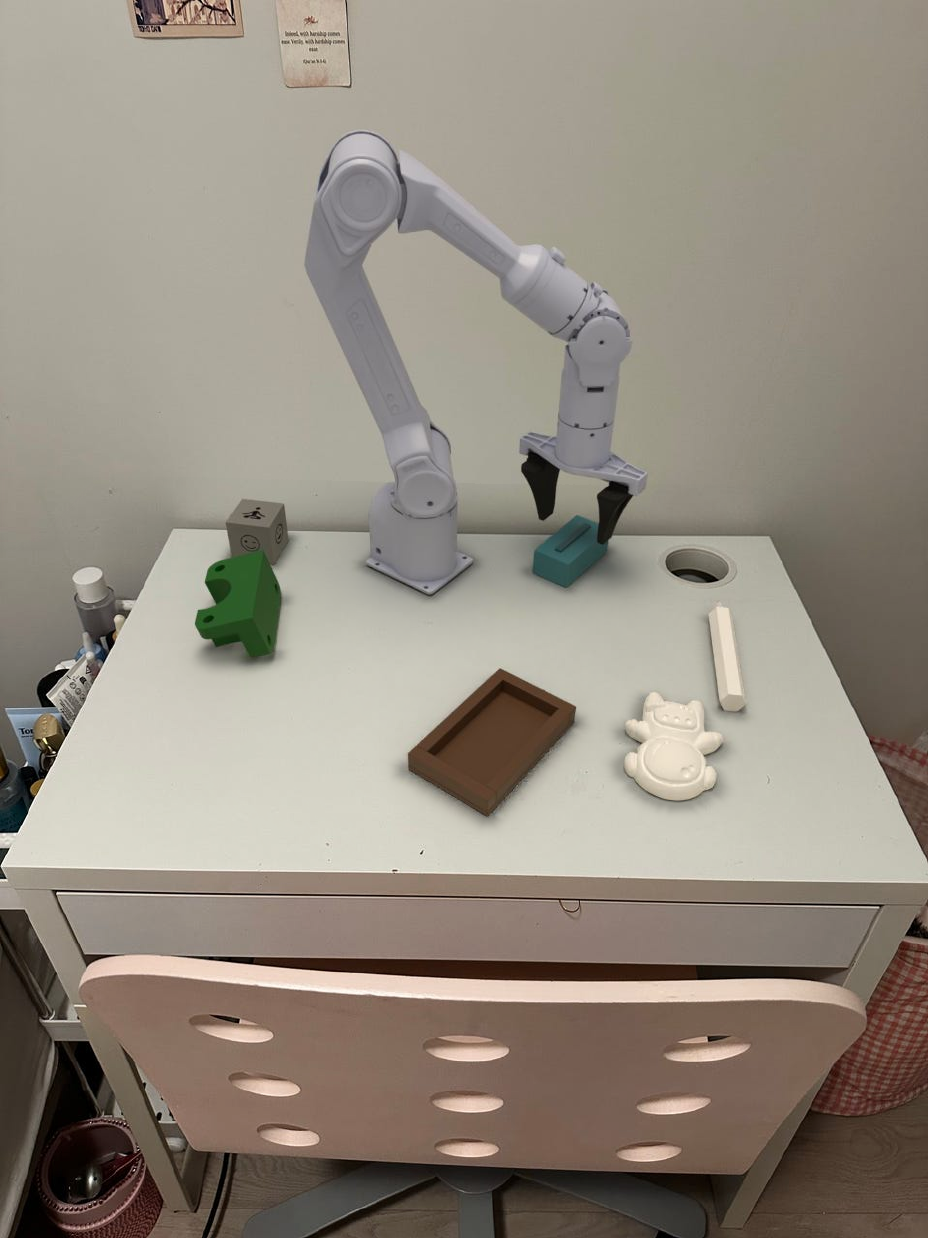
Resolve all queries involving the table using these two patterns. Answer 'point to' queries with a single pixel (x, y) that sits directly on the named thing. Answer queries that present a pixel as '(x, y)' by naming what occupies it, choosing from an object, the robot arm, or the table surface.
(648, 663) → the table surface
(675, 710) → the cream flat figure
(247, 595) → the clamp
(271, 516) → the dice cube
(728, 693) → the marker
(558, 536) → the teal rectangular block
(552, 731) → the frame
